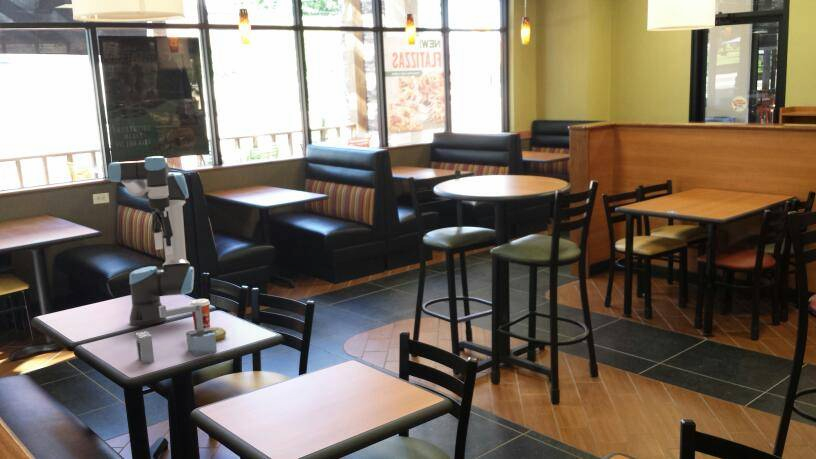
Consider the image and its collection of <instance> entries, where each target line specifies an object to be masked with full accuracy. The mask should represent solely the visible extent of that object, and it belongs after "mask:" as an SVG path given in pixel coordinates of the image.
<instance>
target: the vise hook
mask: <svg viewBox="0 0 816 459" xmlns="http://www.w3.org/2000/svg"><path fill="white" fill-rule="evenodd" d="M192 312H195V317H196V327H197V330H195V329H194V330H190V331H186V332H185V334H186V335H185V336H186V347H187V350H188V352H190V354H192V355H193V356H195V357H199V356H204V355H209V354H213V353H217V351H218V350H217V341H216V337H215V334H214V333H213V329H211V326H210V327H209V328H203V318H202V307H201V304H196V305H191V304H190V305H187V306H180V307H176V308H171V309H167V306H166V305H164V304H162V306H159V313H160V317H161V318H164V317H166V318H167V317H168V318H169V317H173V316H178V315H184V314H189V313H192Z"/></svg>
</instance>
